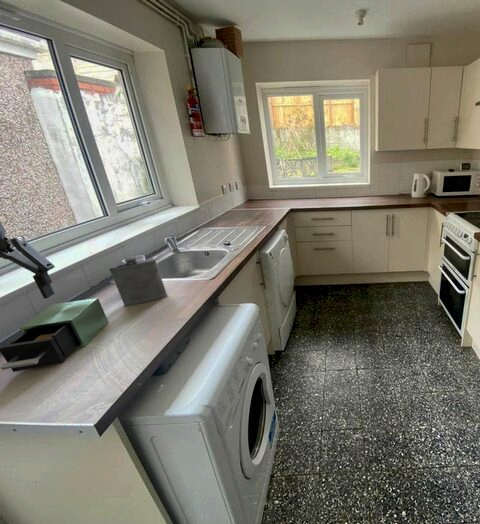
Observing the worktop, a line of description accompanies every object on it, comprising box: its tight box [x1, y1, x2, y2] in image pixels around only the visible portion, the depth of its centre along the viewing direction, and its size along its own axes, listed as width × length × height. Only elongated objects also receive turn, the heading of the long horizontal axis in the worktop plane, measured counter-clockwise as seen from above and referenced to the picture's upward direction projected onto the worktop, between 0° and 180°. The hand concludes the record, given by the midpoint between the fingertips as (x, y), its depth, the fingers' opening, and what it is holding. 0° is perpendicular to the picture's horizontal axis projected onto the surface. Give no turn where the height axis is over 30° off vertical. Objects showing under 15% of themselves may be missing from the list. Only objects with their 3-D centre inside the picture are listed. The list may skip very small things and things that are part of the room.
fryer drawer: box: [0, 323, 80, 373], centre depth 80 cm, size 17×11×8 cm
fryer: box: [19, 297, 109, 350], centre depth 89 cm, size 14×13×10 cm
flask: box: [108, 256, 168, 307], centre depth 108 cm, size 4×14×18 cm, turn 116°
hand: (18, 300), depth 75 cm, fingers open, 13 cm apart
